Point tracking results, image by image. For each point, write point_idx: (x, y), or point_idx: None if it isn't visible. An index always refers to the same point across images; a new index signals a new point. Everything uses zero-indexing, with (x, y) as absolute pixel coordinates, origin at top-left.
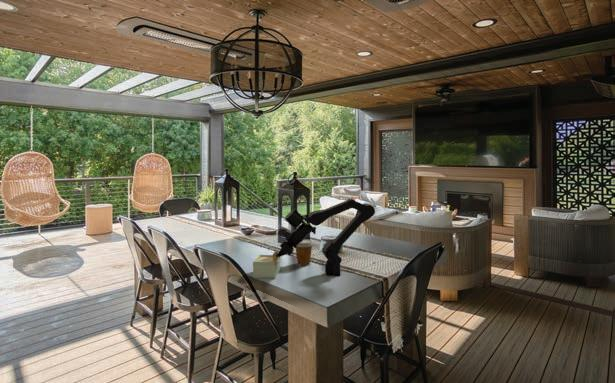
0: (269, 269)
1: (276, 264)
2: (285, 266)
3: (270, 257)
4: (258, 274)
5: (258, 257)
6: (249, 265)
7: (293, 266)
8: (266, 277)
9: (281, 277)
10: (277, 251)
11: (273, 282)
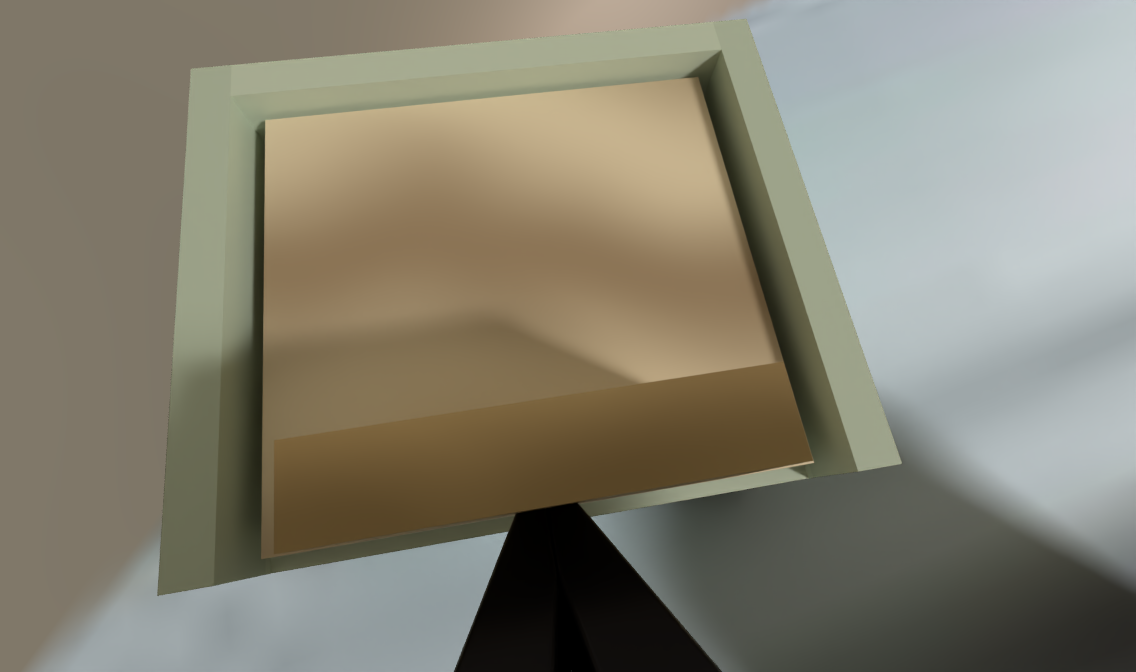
0: None
1: (452, 540)
2: (969, 496)
3: (707, 278)
4: None
5: (536, 65)
6: (786, 38)
7: (1038, 636)
8: None
9: (427, 644)
10: (727, 474)
11: (164, 603)
